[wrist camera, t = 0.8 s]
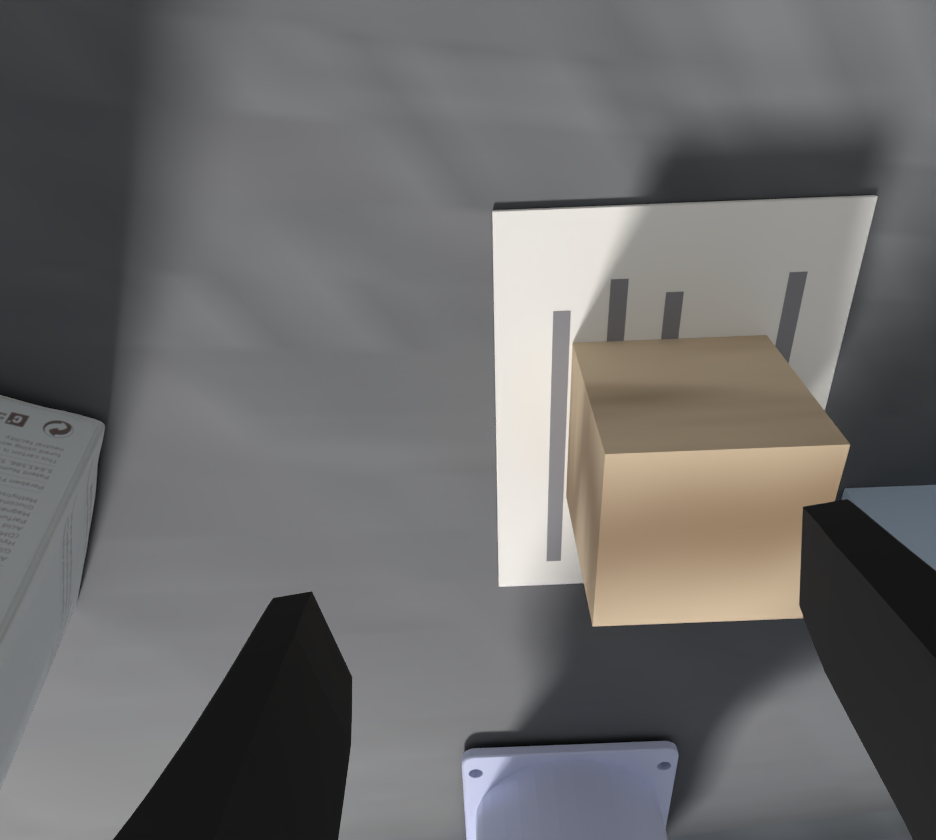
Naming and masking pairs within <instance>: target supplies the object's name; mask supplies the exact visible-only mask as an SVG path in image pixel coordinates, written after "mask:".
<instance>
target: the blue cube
mask: <svg viewBox="0 0 936 840" xmlns="http://www.w3.org/2000/svg"><path fill="white" fill-rule="evenodd" d="M845 499H848V500H849V501H851V502H852V503H854V504H855V505H856V506H858V507H859V508H860V509H861V510H862V511H864V512H865V513H866V514H867V515H868V516H870V517H871V518H872V519H873V520H874V521H876V522H877V523H878V524H879V525H880V526H882V527H883V528H884V529H885V530H886V531H888V532H889V533H890V534H891V535H892V536H894V537H895V538H896V539H897V540H899V541H900V542H901V543H902V544H903V545H905V546H906V547H907V548H908V549H910V550H911V551H912V552H913V553H915V554H916V555H917V556H918V557H920V558H921V559H922V560H923V561H924V562H926V563H927V564H928V565H929V566H931V567H932V568H933V569H934V570H936V485H918V486H892V487H866V488H845V489H844V492H843V496H842V499H841V500H845Z"/></svg>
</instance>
